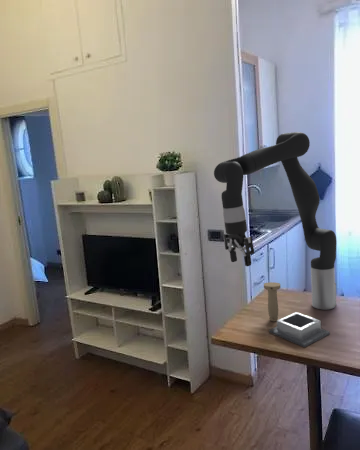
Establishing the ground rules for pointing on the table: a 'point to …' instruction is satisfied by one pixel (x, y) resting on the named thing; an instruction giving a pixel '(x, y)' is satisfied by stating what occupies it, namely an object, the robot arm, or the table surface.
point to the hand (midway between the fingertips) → (241, 263)
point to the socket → (299, 329)
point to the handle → (272, 299)
